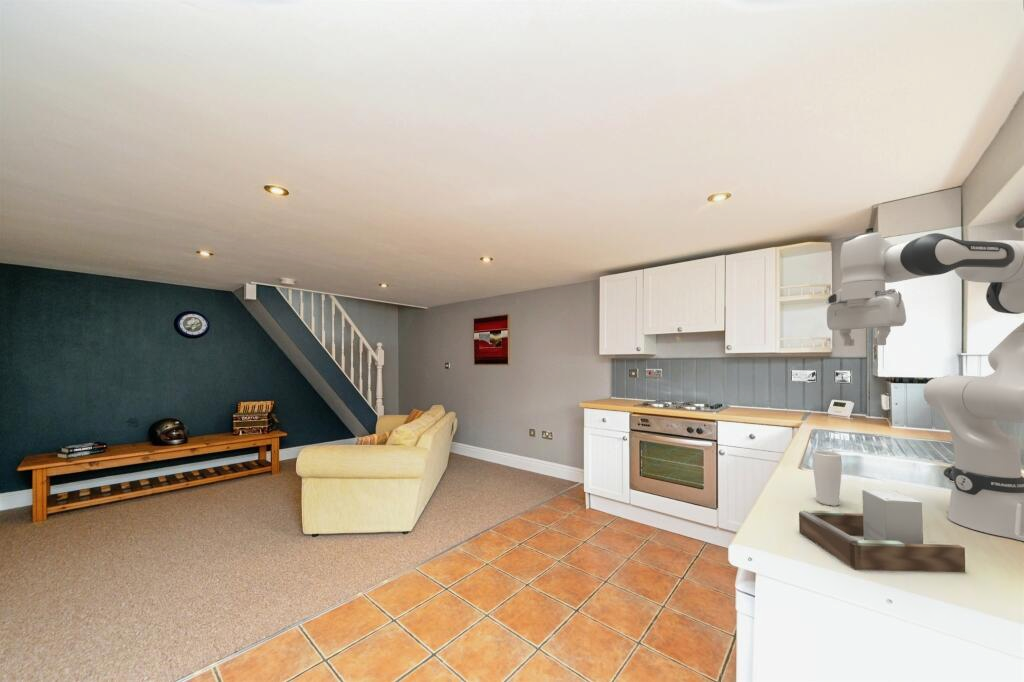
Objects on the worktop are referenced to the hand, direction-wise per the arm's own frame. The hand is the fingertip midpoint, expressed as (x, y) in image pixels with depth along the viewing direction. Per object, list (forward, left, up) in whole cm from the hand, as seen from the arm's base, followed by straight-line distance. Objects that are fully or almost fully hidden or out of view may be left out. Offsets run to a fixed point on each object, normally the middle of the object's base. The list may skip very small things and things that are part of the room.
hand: (863, 345), depth 102 cm
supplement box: (+6, +14, -47) cm, 50 cm away
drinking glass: (-1, -14, -47) cm, 50 cm away
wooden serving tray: (+10, +14, -47) cm, 50 cm away
